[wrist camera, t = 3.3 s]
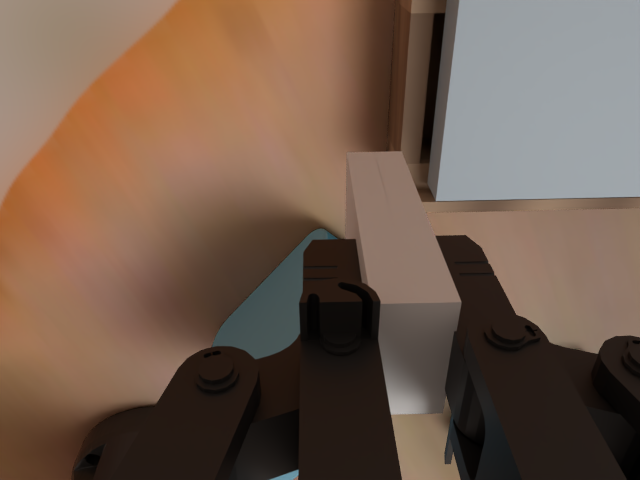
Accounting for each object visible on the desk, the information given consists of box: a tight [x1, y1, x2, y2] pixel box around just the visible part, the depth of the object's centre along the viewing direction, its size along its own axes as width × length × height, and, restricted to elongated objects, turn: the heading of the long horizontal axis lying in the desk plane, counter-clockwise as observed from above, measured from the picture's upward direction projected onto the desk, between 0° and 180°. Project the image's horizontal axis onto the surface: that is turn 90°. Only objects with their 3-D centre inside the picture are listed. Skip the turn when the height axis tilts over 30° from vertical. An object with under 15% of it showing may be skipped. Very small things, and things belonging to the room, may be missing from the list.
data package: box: [212, 229, 337, 480], centre depth 31 cm, size 12×4×12 cm, turn 140°
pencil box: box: [386, 0, 640, 213], centre depth 26 cm, size 20×11×6 cm, turn 91°
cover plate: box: [427, 0, 640, 201], centre depth 23 cm, size 17×9×3 cm, turn 91°
